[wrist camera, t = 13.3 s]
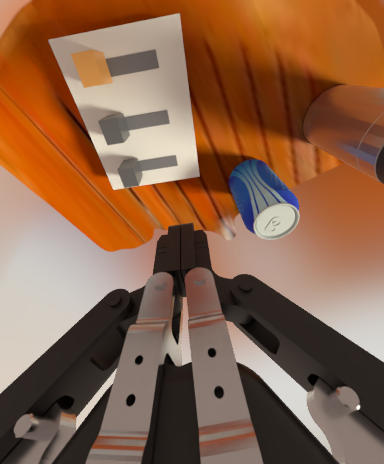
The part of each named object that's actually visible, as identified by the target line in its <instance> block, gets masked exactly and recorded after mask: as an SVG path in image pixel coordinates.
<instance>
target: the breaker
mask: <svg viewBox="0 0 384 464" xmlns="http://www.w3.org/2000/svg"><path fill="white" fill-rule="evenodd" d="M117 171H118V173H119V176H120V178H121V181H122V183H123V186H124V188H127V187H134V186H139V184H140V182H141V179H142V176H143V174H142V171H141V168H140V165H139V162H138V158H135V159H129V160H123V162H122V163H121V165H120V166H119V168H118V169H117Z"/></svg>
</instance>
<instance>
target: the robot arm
mask: <svg viewBox="0 0 384 464" xmlns="http://www.w3.org/2000/svg"><path fill="white" fill-rule="evenodd" d="M303 132H304V135H305V138H306V139H307V140H308V141H309V142H310V143H312V144H313V145H315V146H317V147H319V148H320V149H322V150H324V151H326V152H327V153H329V154H331V155H333V156H335V157H336V158H338V159H340V160H342V161H344V162H345V163H347V164H349V165H351V166H352V167H354V168H356V169H358V170H360V171H361V172H363V173H365V174H367V175H369V176H371V177H373V178H374V179H376V180H378V181H380V182H382V183H383V184H384V88H374V87H364V86H352V85H338V86H334V87H332V88H329V89H328V90H326V91H325V92H323V93H322V94H321V95H320V96H318V97H317V98H316V100H315V101H314V102H313V103H312V104H311V106H310V108H309V109H308V111H307V113H306V115H305V119H304V123H303ZM183 297H187V305H188V315H189V320H188V329H189V338H190V349H191V358H192V362H190V363H188V364H185V365H183V366H182V356H181V335H182V320H183ZM225 320H226V321H230V322H233V323H234V325H235V326H236V327H237V328H239V329H240V330H241V331H242V332H243V333H244V334H245V335H246V336H247V337H248V338H249V339H250V340H252V341H253V342H254V343H255V344H256V345H257V346H258V347H259V348H260V349H261V350H262V351H264V352H265V353H266V354H267V355H268V356H269V357H270V358H271V359H272V360H273V361H275V363H277V364H278V365H279V366H280V367H281V368H282V369H283V370H284V371H285V372H286V373H287V374H289V375H290V376H291V377H292V378H293V379H294V380H295V381H296V382H297V383H298V384H299V385H301V386H302V387H303V388H304V389H305V390H306V391H307V392H308V394H307V406H308V410H309V412H310V414H311V416H312V418H313V420H314V421H315V423H316V424H317V425H318V426H319V427H320V429H321V430H322V431H323V433H324V434H325V436H326V438H327V440H328V442H329V444H330V447H331V450H332V455H333V456H332V455H331V454H330V453H329V452H328V450H327V449H326V448H325V447H324V446H323V445H322V444H321V443H320V442H319V441H318V440H317V438H316V437H314V435H313V434H312V433H311V432H310V431H309V430H308V429H307V428H306V426H305V425H304V424H303V423H302V422H301V421H300V420H299V419H298V418H297V417H296V416H295V414H294V413H293V412H292V411H291V410H290V409H289V408H288V407H287V406H286V405H285V403H284V402H283V401H282V400H281V399H280V398H279V397H278V396H277V395H276V394H275V393H274V391H273V390H272V389H271V388H270V387H269V386H268V385H267V384H266V383H265V382H264V381H263V379H262V378H261V377H260V376H259V375H257V374H256V373H255V372H254V371H253V370H251V369H249V368H248V367H246V366H245V365H243V364H240V363H238V362H236V360H235V356H234V352H233V348H232V344H231V340H230V336H229V333H228V328H227V324H226V321H225ZM117 367H118V368H117ZM116 368H117V372H116V375H115V379H114V383H113V384H112V385H111V386H110V387H109V388H108V389H107V391H106V392H105V393H104V394H103V396H102V397H101V398H100V400H99V401H98V403H97V404H96V405H95V406H94V408H93V409H92V410H91V412H90V413H89V414H88V416H87V417H86V418H85V420H84V421H83V422H82V424H81V425H80V426H79V428H78V429H77V430H76V417H77V416H78V415H79V414H80V412H81V411H82V410H83V409H84V408H85V406H86V405H87V404H88V402H89V401H90V400H91V399H92V398H93V396H94V395H95V394H96V393H97V391H98V390H99V389H100V388H101V387H102V385H103V384H104V383H105V382H106V380H107V379H108V378H109V377H110V376H111V374H112V373H113V372H114V371H115V369H116ZM0 464H384V362H382V361H381V360H379V359H378V358H376V357H375V356H373V355H371V354H370V353H368V352H367V351H365V350H364V349H362V348H361V347H359V346H358V345H356V344H355V343H353V342H352V341H350V340H349V339H347V338H346V337H344V336H343V335H341V334H340V333H338V332H337V331H335V330H334V329H332V328H331V327H329V326H327V325H326V324H325V323H323V322H322V321H320V320H319V319H317V318H316V317H314V316H313V315H311V314H310V313H308V312H307V311H305V310H304V309H302V308H301V307H299V306H298V305H296V304H295V303H293V302H291V301H290V300H289V299H287V298H285V297H284V296H282V295H281V294H280V293H278V292H277V291H275V290H274V289H272V288H270V287H269V286H268V285H266V284H265V283H263V282H262V281H260V280H258V279H257V278H255V277H254V276H252V275H247V274H241V275H238V276H236V277H234V278H233V279H227V278H222V277H220V276H218V275H217V274H215V273H214V271H213V270H212V267H211V261H210V254H209V248H208V242H207V236H206V234H205V232H204V231H203V230H197V231H194V226H193V223H188V224H181V225H174V226H169V228H168V235H162V236H161V237H160V238H159V240H158V241H157V249H156V255H155V262H154V269H153V276H151V277H150V278H149V279H148V281H147V283H146V285H145V286H144V287H142V288H140V289H138V290H135V291H133V292H131V293H129V292H128V291H126V290H125V289H116V290H114V291H112V292H110V293H109V294H107V295H106V296H105V297H104V298H103V299H102V300H101V301H100V302H99V303H98V304H97V305H95V306H94V307H93V308H92V309H91V310H90V311H89V312H88V313H87V314H86V315H85V316H84V317H83V318H81V319H80V320H79V322H77V323H76V324H75V325H74V326H73V327H72V328H71V329H70V330H69V331H68V332H66V334H64V335H63V336H62V337H61V338H60V339H59V340H58V341H57V342H56V343H55V344H54V345H53V346H51V347H50V348H49V349H48V350H47V351H46V352H45V353H44V354H43V355H42V356H41V357H40V358H38V359H37V360H36V361H35V362H34V363H33V364H32V365H31V366H30V367H29V368H28V369H27V370H26V371H25V372H24V373H22V374H21V375H20V376H19V377H18V378H17V379H16V380H15V381H14V382H13V383H12V384H10V386H8V387H7V388H6V389H5V390H4V391H3V392H2V393H1V394H0Z"/></svg>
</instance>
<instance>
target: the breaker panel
mask: <svg viewBox="0 0 384 464" xmlns="http://www.w3.org/2000/svg"><path fill="white" fill-rule="evenodd" d="M48 41H49V44H50V46H51V48H52V50H53V53H54V55H55V57H56V60H57V62H58V64H59V66H60V69H61V71H62V73H63V76H64V78H65V80H66V82H67V85H68V87H69V89H70V92H71V94H72V96H73V98H74V101H75V103H76V105H77V107H78V110H79V112H80V114H81V117H82V119H83V121H84V123H85V126H86V128H87V130H88V133H89V135H90V137H91V139H92V142H93V144H94V146H95V149H96V151H97V153H98V155H99V158H100V160H101V162H102V165H103V167H104V169H105V171H106V174H107V176H108V178H109V181H110V183H111V185H112V187H113V190H116V189H122V188H124V186H123V183H122V181H121V178H120V176H119V173H118V171H117V169H118V168H119V166H120V165H121V163H122V162H123V160H129V159H135V158H138V162H139V165H140V168H141V171H142V174H143V176H142V179H141V182H140V184H139V186H142V185H148V184H155V183H161V182H168V181H174V180H181V179H187V178H194V177H200V174H199V166H198V158H197V150H196V142H195V134H194V126H193V117H192V109H191V101H190V93H189V85H188V77H187V69H186V61H185V53H184V45H183V36H182V28H181V20H180V13H178V14H173V15H168V16H163V17H158V18H153V19H148V20H143V21H138V22H134V23H129V24H124V25H119V26H114V27H109V28H104V29H99V30H94V31H89V32H84V33H79V34H74V35H69V36H64V37H59V38H54V39H50V40H48ZM88 50H95V51H100V52H103V53H104V56H105V59H106V62H107V65H108V69H109V72H110V75H111V78H112V81H113V83H109V84H103V85H98V86H92V87H87V88H84V86H83V84H82V81H81V79H80V76H79V74H78V71H77V69H76V66H75V64H74V61H73V59H72V56H71V54H72V53H77V52H83V51H88ZM119 113H123V114H124V117H125V121H126V124H127V127H128V130H129V133H130V136H129V137H128V139H127V140H126V141H125V142H124V143H119V144H113V145H107V143H106V140H105V138H104V135H103V133H102V130H101V128H100V125H99V123H98V121H99V120H101V119H102V118H104V117H106V116H108V115H114V114H119ZM134 187H135V186H134ZM127 188H129V187H127Z"/></svg>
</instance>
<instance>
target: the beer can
mask: <svg viewBox="0 0 384 464" xmlns="http://www.w3.org/2000/svg"><path fill="white" fill-rule="evenodd" d="M229 187H230V190H231V192H232V195H233V197H234V200H235V202H236V205H237V207H238V209H239V212H240V214H241V216H242V219H243V221H244V224H245V225H246V227H247V229H248V230H249V231H251V232H252V233H254V234H256V235H257V236H259V237H260V238H262V239H267V240H273V239H278V238H281V237H283V236H285V235H287V234H289V233H290V232H291V231H292V230H293V229H294V228H295V227H296V225H297V224H298V221H299V212H298V210H299V203H298V200H297V198H296V196H295V195H294V194H293V193H292V192H291V191H290V190H289V189H288V187H287V186H286V185H285V184H284V183H283V182H282V181H281V180H280V179H279V178H278V176H277V175H276V174H275V173H274V172H273V171H272V170H271V169H270V168H269V167H268V165H267V164H266V163H264V162H263V161H261V160H257V159H251V160H247V161H244V162H242V163H240V164H239V165H238V166H236V167H235V169H234V170H233V171H232V173H231V175H230V178H229Z"/></svg>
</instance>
